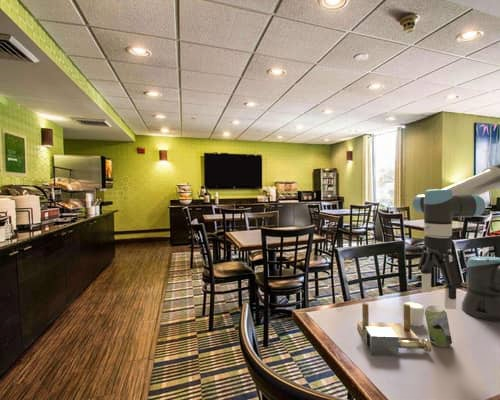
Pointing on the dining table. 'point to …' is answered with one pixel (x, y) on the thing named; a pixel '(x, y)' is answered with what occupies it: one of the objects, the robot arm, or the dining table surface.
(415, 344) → the pin
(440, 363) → the dining table surface
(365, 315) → the peg stand
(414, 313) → the beige tapered cylinder
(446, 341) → the beverage can
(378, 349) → the slot block
